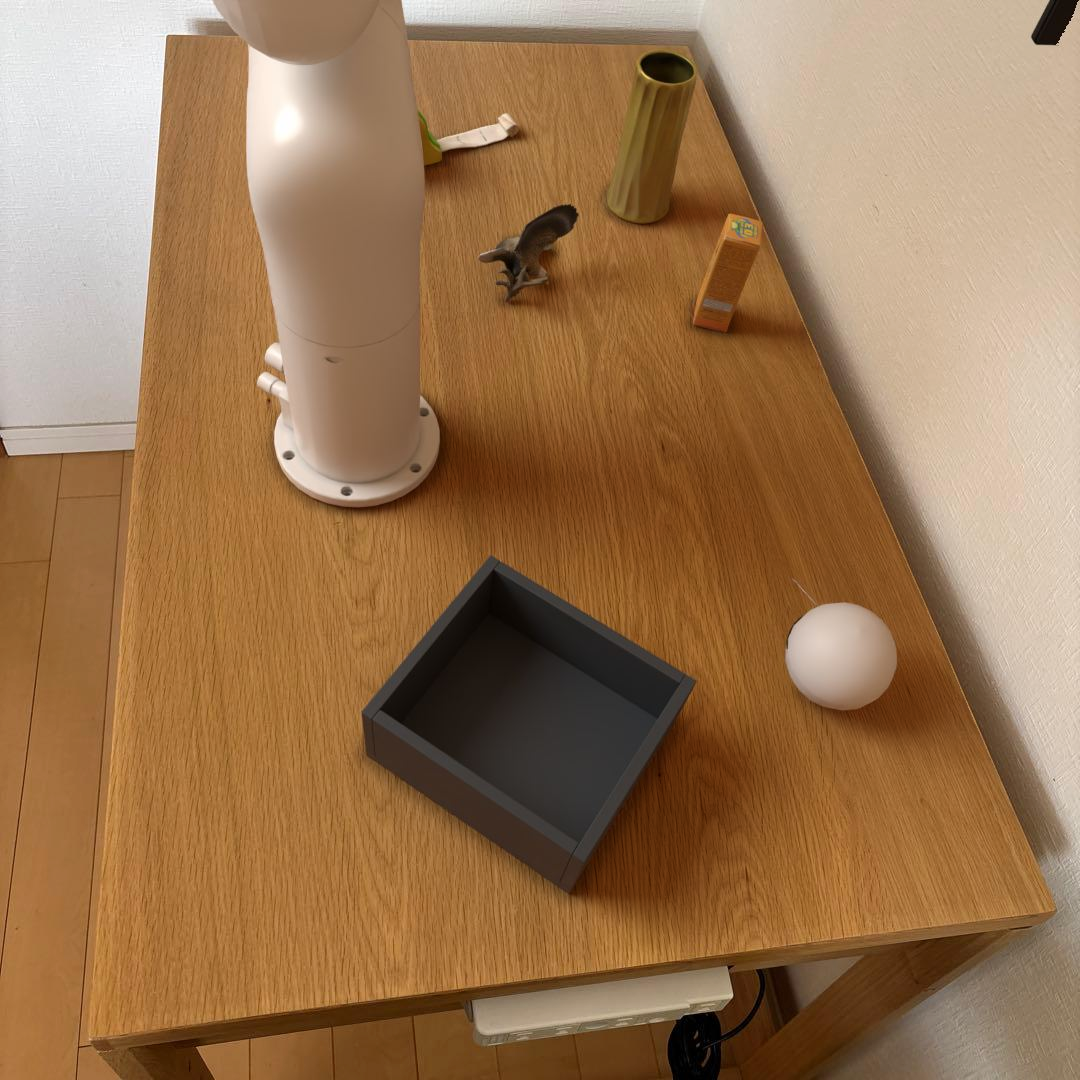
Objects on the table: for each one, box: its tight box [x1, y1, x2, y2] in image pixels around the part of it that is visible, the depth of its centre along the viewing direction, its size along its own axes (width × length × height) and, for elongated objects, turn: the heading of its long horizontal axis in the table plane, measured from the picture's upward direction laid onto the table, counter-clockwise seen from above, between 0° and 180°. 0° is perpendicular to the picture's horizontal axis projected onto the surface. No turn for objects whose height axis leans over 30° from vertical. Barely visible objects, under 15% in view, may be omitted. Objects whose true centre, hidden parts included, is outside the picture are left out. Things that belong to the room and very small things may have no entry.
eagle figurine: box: [477, 203, 580, 303], centre depth 90 cm, size 8×7×9 cm
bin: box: [360, 554, 698, 894], centre depth 65 cm, size 16×14×7 cm
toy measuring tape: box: [417, 108, 520, 167], centre depth 97 cm, size 6×20×7 cm, turn 118°
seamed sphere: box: [784, 578, 898, 711], centre depth 70 cm, size 10×7×7 cm
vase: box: [605, 48, 698, 225], centre depth 93 cm, size 6×6×14 cm
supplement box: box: [692, 213, 764, 333], centre depth 87 cm, size 3×3×10 cm
